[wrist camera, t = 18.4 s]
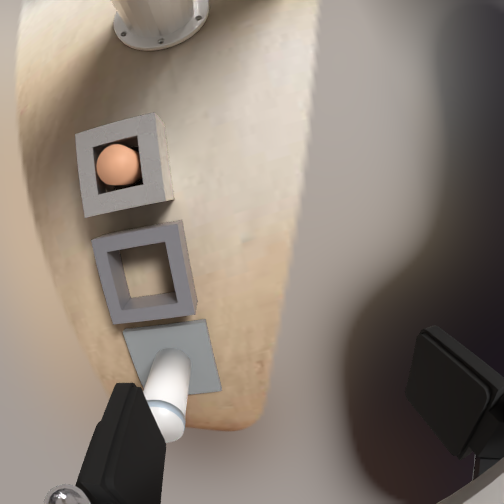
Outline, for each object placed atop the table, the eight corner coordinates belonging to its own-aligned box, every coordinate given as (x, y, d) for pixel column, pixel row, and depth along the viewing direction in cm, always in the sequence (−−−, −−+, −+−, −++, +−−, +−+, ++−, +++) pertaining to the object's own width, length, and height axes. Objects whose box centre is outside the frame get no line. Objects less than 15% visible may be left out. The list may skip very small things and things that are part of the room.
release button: (111, 154, 29) (94, 149, 24) (143, 146, 30) (131, 140, 25) (115, 188, 30) (99, 188, 25) (148, 181, 30) (136, 180, 26)
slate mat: (124, 328, 35) (122, 332, 34) (205, 318, 36) (205, 322, 35) (148, 393, 37) (147, 397, 36) (221, 386, 38) (221, 390, 37)
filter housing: (104, 234, 32) (91, 239, 28) (182, 219, 33) (177, 223, 29) (122, 311, 34) (113, 324, 31) (197, 301, 35) (195, 314, 31)
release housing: (95, 141, 30) (75, 134, 24) (164, 123, 30) (154, 112, 25) (103, 213, 32) (84, 218, 26) (174, 199, 32) (166, 201, 27)
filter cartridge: (149, 348, 35) (126, 409, 23) (187, 345, 35) (176, 408, 24) (159, 380, 36) (143, 442, 24) (195, 377, 36) (190, 442, 25)
